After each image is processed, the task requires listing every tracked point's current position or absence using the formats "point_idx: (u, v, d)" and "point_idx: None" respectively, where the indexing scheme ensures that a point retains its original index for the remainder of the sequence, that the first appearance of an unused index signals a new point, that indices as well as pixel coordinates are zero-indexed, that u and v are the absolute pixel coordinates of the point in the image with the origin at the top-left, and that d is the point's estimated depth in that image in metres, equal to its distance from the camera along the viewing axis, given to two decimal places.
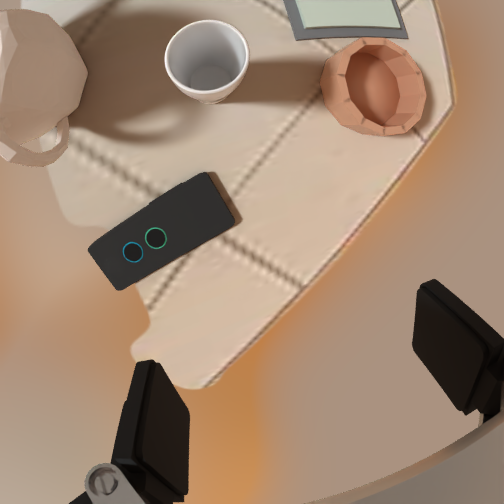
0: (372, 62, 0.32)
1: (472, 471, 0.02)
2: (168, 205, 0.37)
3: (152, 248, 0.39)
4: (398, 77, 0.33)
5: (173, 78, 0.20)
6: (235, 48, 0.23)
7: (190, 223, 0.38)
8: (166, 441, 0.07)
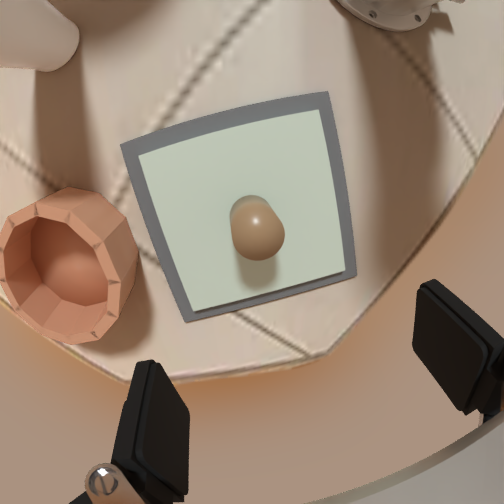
0: None
1: (472, 471, 0.02)
2: None
3: None
4: (104, 304, 0.26)
5: None
6: None
7: None
8: (166, 441, 0.07)
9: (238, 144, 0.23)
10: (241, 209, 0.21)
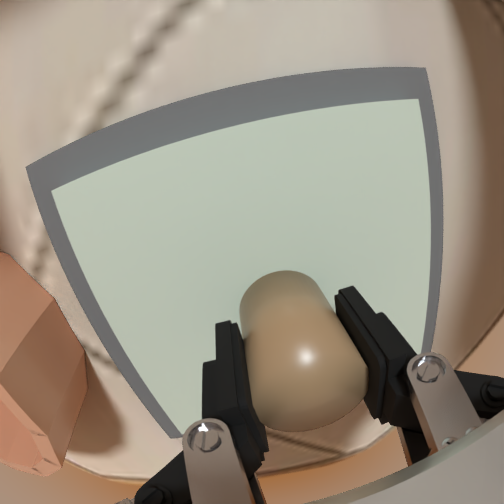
0: None
1: (472, 472, 0.02)
2: None
3: None
4: None
5: None
6: None
7: None
8: None
9: (260, 162, 0.10)
10: (272, 329, 0.09)
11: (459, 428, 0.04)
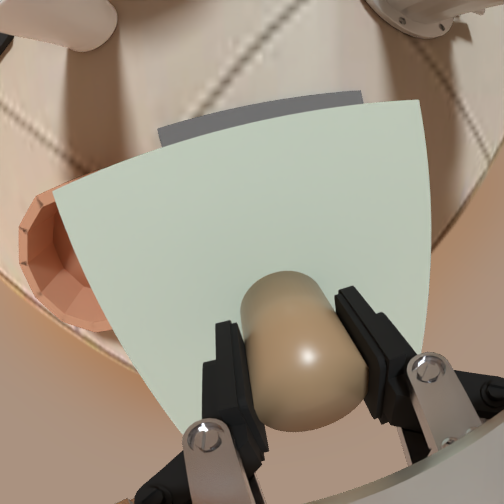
0: None
1: (472, 471, 0.02)
2: None
3: None
4: None
5: None
6: None
7: None
8: None
9: (261, 163, 0.10)
10: (273, 330, 0.09)
11: (459, 427, 0.04)
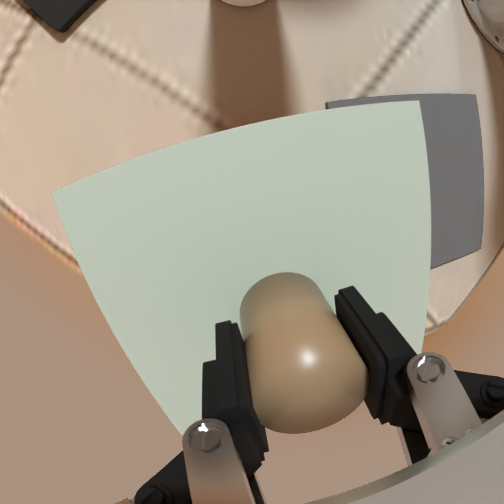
0: None
1: (472, 472, 0.02)
2: None
3: None
4: None
5: None
6: None
7: None
8: None
9: (260, 164, 0.10)
10: (272, 332, 0.09)
11: (458, 428, 0.04)
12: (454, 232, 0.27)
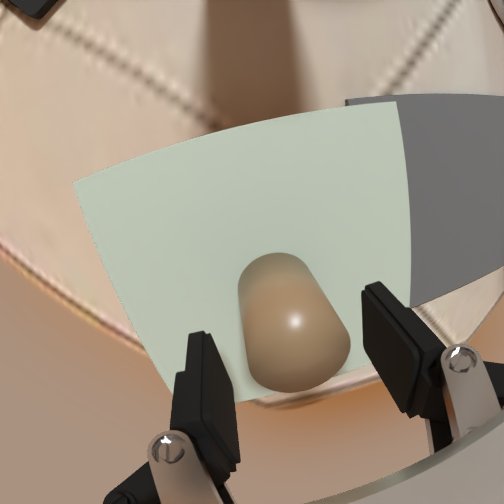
0: None
1: (472, 472, 0.02)
2: None
3: None
4: None
5: None
6: None
7: None
8: (222, 407, 0.08)
9: (255, 158, 0.12)
10: (264, 298, 0.11)
11: (482, 419, 0.04)
12: (479, 249, 0.23)
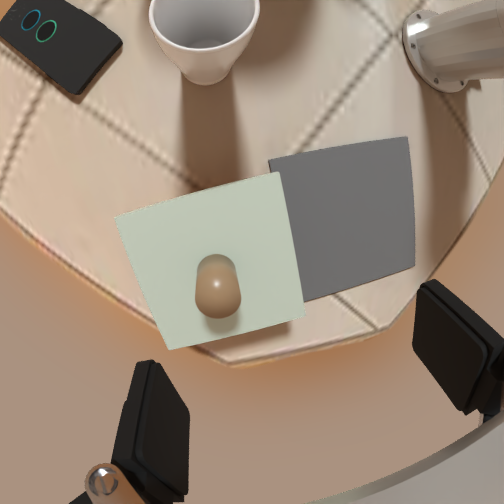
0: None
1: (472, 471, 0.02)
2: (79, 25, 0.21)
3: (36, 33, 0.20)
4: None
5: None
6: None
7: (65, 52, 0.22)
8: (166, 441, 0.07)
9: (203, 208, 0.26)
10: (204, 273, 0.24)
11: None
12: (385, 253, 0.37)
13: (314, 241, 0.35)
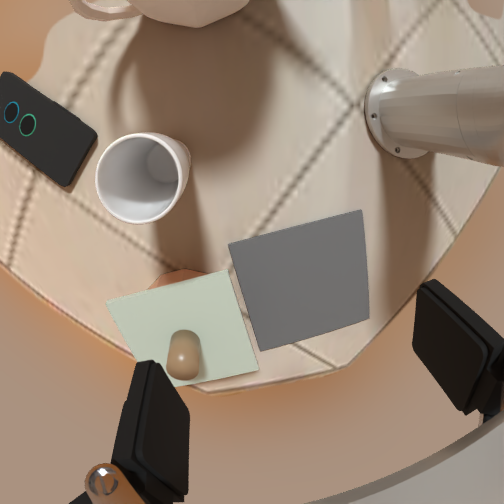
0: None
1: (472, 472, 0.02)
2: (55, 119, 0.28)
3: (19, 127, 0.27)
4: None
5: (109, 147, 0.18)
6: (173, 197, 0.25)
7: (49, 147, 0.29)
8: (166, 441, 0.07)
9: (170, 299, 0.33)
10: (172, 349, 0.31)
11: None
12: (338, 311, 0.44)
13: (271, 305, 0.42)
